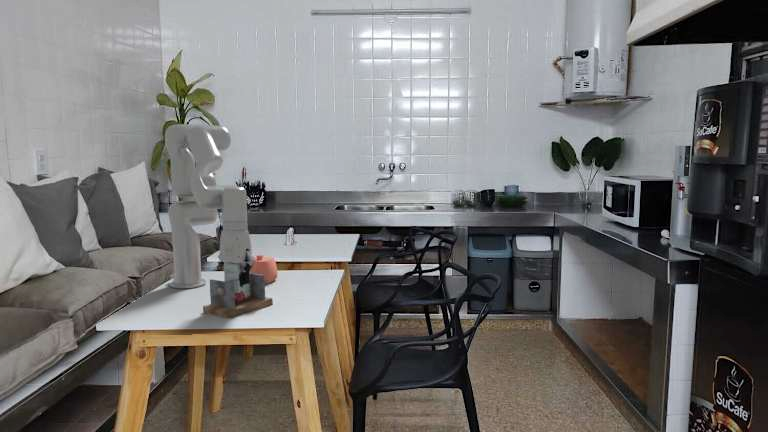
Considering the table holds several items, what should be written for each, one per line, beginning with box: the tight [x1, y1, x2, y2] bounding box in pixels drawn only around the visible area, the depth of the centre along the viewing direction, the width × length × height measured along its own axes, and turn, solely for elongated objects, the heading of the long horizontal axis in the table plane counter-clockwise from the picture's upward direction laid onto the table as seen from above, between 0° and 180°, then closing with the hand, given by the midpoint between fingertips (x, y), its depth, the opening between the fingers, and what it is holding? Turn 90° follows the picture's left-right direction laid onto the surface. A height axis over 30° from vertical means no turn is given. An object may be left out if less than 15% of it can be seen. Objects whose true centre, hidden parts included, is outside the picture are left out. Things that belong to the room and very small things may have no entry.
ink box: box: [223, 263, 250, 302], centre depth 181 cm, size 9×5×12 cm, turn 168°
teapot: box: [249, 254, 279, 285], centre depth 218 cm, size 12×18×10 cm, turn 169°
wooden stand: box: [202, 273, 274, 319], centre depth 182 cm, size 12×18×10 cm, turn 147°
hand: (237, 282), depth 181 cm, fingers closed on ink box, 6 cm apart
